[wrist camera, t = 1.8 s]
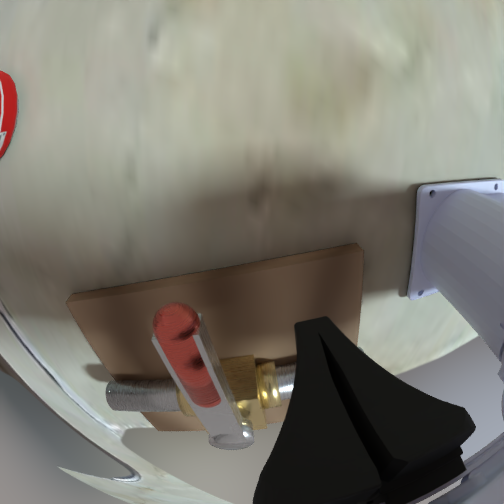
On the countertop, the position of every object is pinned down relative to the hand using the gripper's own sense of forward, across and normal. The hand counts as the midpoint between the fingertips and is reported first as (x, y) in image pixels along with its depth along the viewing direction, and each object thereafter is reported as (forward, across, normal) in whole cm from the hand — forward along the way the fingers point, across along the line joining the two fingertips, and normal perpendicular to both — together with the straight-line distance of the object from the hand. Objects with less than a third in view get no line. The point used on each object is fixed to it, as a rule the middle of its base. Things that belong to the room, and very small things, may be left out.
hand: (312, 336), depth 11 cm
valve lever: (+1, +5, +3) cm, 6 cm away
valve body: (+5, +5, +7) cm, 10 cm away
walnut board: (+5, +5, +7) cm, 10 cm away
